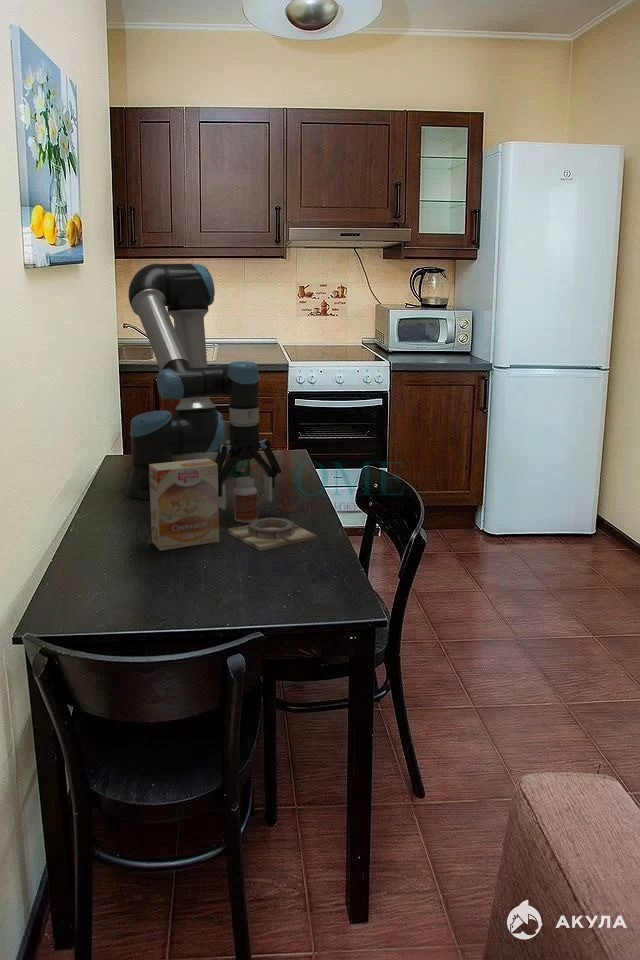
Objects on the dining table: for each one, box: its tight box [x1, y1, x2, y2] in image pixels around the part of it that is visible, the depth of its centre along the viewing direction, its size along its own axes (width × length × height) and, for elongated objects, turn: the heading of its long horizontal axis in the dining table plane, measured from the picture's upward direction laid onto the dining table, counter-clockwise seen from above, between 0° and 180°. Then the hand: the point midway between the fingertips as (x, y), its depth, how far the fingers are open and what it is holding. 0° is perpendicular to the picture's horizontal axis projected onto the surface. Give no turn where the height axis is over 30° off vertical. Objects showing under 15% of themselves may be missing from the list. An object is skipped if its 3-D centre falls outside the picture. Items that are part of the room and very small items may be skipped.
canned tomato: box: [223, 439, 251, 480], centre depth 264 cm, size 8×8×11 cm
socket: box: [227, 516, 318, 552], centre depth 208 cm, size 16×16×3 cm
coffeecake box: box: [149, 458, 220, 551], centre depth 201 cm, size 15×7×20 cm, turn 117°
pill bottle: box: [233, 476, 259, 524], centre depth 219 cm, size 6×6×11 cm
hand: (245, 504), depth 220 cm, fingers open, 13 cm apart
